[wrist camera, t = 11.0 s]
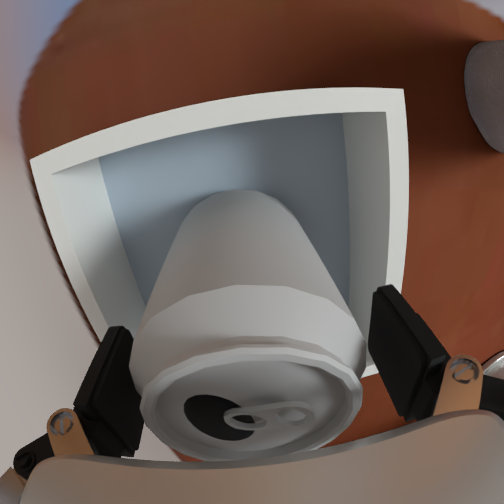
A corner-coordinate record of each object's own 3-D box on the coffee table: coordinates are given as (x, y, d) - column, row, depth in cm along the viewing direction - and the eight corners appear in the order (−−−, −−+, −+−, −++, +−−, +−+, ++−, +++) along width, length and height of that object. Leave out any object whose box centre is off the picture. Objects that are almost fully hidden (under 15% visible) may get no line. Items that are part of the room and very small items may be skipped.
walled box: (350, 95, 15) (403, 89, 9) (356, 315, 22) (385, 370, 16) (86, 143, 15) (29, 159, 9) (156, 347, 22) (142, 407, 16)
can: (155, 217, 17) (59, 377, 6) (275, 164, 16) (370, 273, 5) (211, 313, 20) (203, 484, 9) (316, 273, 19) (391, 436, 8)
